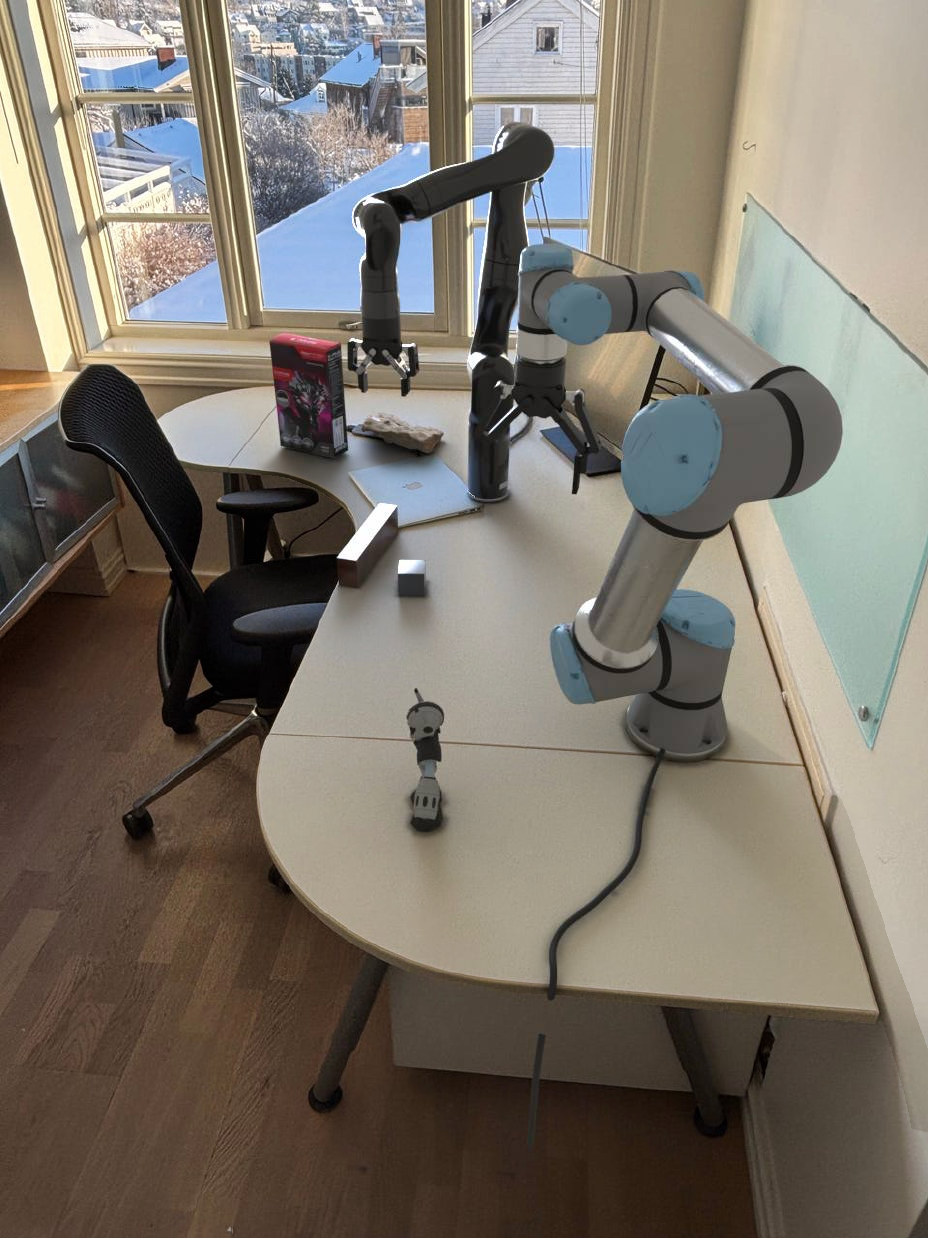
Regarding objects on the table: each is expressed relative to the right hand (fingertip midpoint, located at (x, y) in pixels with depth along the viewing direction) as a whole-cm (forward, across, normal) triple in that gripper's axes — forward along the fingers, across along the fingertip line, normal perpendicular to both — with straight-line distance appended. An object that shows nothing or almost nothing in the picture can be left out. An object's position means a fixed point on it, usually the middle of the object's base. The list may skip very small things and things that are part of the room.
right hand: (533, 485), depth 149 cm
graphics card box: (+29, +68, -64) cm, 98 cm away
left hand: (+1, +38, -35) cm, 52 cm away
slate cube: (+29, +24, -8) cm, 38 cm away
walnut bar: (+29, +36, -18) cm, 49 cm away
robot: (+29, +4, +47) cm, 55 cm away
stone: (+29, +49, -74) cm, 93 cm away
